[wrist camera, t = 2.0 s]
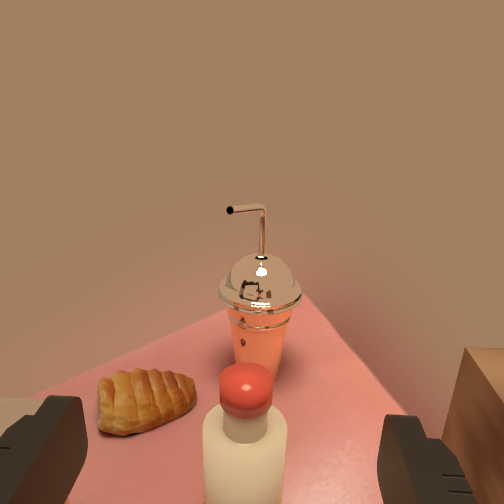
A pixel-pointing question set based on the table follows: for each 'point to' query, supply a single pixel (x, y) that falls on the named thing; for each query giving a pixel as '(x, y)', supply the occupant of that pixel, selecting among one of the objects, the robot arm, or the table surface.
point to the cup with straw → (259, 301)
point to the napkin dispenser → (17, 412)
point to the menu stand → (479, 422)
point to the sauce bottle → (244, 440)
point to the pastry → (143, 400)
